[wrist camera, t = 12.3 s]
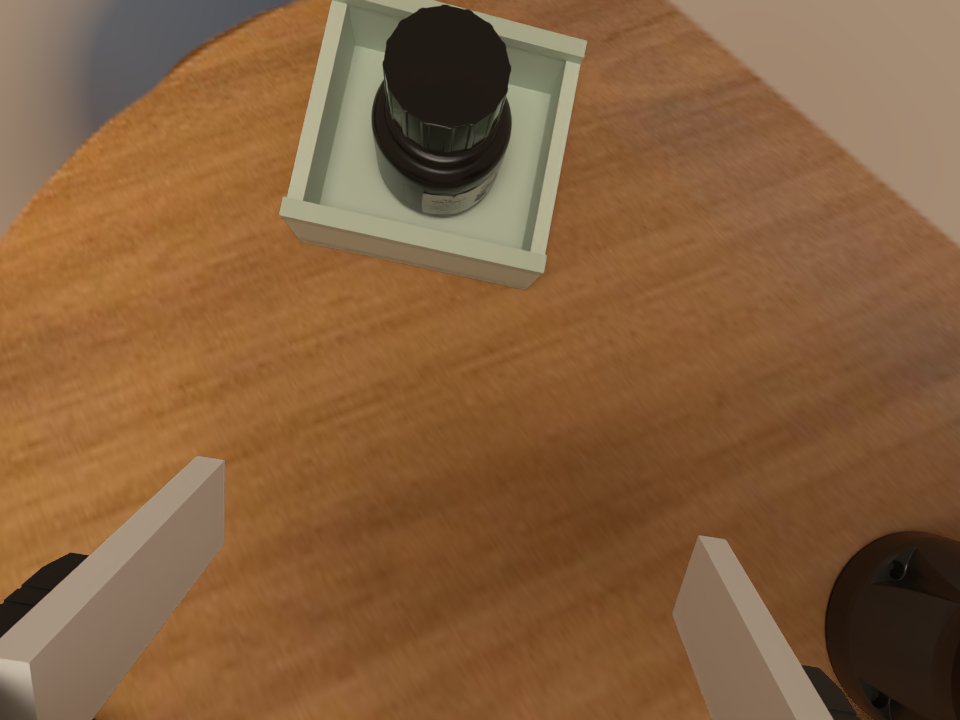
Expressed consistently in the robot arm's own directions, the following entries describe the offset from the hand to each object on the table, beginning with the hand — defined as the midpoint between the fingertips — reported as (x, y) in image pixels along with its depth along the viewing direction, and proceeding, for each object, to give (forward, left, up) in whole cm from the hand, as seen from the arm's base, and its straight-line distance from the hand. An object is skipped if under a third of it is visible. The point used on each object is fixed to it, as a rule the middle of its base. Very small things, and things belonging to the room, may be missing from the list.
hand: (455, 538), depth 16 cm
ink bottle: (+4, -21, -25) cm, 33 cm away
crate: (+4, -21, -26) cm, 34 cm away
